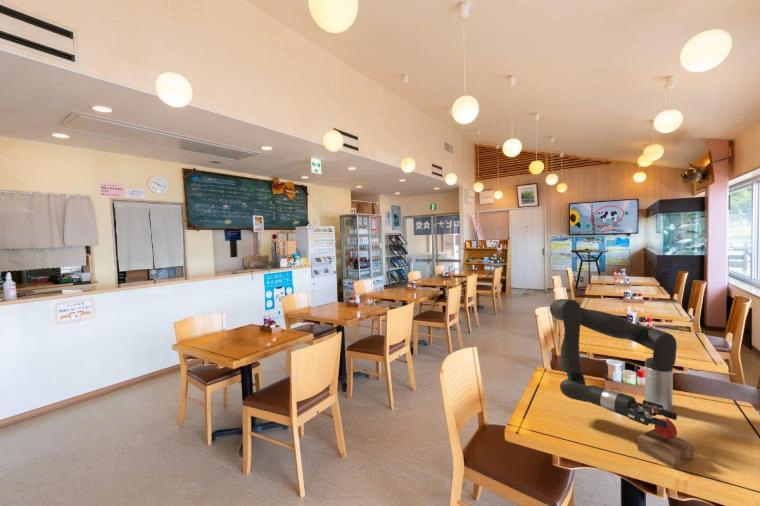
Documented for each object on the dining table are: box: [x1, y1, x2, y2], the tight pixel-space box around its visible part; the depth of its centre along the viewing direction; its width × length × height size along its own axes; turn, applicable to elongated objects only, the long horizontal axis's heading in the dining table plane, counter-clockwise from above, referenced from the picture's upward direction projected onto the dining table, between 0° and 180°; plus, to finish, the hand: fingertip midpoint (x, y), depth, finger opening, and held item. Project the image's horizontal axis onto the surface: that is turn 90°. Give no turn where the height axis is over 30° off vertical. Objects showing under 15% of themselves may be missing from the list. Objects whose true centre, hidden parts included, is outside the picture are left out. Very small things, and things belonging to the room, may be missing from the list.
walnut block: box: [637, 428, 695, 469], centre depth 120 cm, size 11×11×5 cm
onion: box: [654, 417, 678, 440], centre depth 119 cm, size 6×6×8 cm
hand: (672, 421), depth 118 cm, fingers open, 8 cm apart
